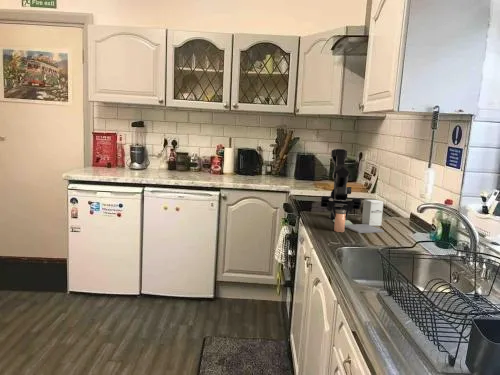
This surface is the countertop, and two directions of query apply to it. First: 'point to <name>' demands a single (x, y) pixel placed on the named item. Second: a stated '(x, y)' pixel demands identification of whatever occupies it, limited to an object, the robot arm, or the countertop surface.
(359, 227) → the gray board
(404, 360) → the countertop surface
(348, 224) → the sage tile
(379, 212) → the supplement box
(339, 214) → the terracotta jar
